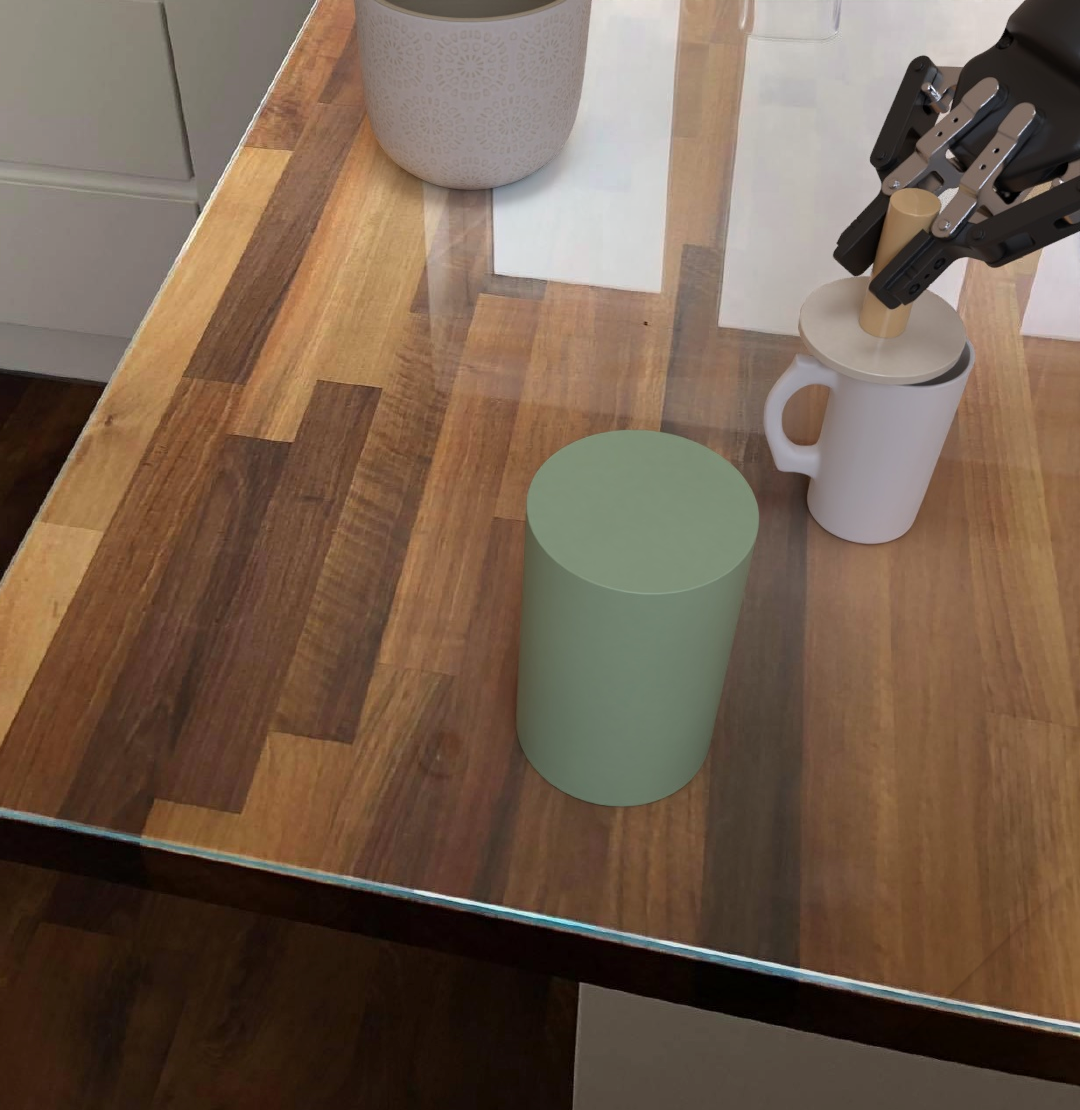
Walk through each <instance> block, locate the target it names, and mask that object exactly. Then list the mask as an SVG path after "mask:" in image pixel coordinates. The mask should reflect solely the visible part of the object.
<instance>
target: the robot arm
mask: <svg viewBox="0 0 1080 1110" xmlns="http://www.w3.org/2000/svg"><path fill="white" fill-rule="evenodd" d="M900 82H901V83H900V85H899V87H898V89H897V91H896V94H895V96H894V98H893V102H892V103H891V106H890V109H889V111H888V113H887V115H886V118H885V120H884V122H883V124H882V127H881V129H880V132H879V134H878V137H877V139H876V141H875V143H874V146H873V148H872V150H871V152H870V156H869V163H870V165H872V167H873V168H874V170H875V171H876V173H877V176H878V178H879V180H880V185H881V186H880V189H879V192H878V194H876V196H875V197H874V199H872V201H871V202H870V203H869V204H868V205H866V207H865V208H864V209H863V210H862V211H861V212H860V213H859V214H858V215H857V217H856V218H855V219H854V220H853V221H852V222H851V223H850V225H848V226H846V228H845V229H844V230H843V231H842V232H841V233H840V234H839V237H838V239H837V241H836V245H837V246H836V247H835V248H834V250H833V252H832V258H833V260H835V261H836V263H838V264H839V265H840V266H842V268H843V269H844V270H846V271H847V272H848V273H849V274H851V276H852V277H860V276H863V274H864V273H865V272H866V271H867V270H868V269H869V268H870V267H871V266H873V263H874V259H875V255H876V251H877V247H878V243H879V239H880V236H881V232H882V228H883V224H884V220H885V216H886V212H887V208H888V204H889V201H890V197H891V195H892V194H893V193H894V192H896V191H898V190H900V189H905V188H918V189H923V190H926V191H929V192H931V193H933V194H935V195H936V196H937V197H938V198H939V197H940V196H941V195H942V194H944V193H945V192H946V191H947V190H949V189H952V190H954V189H957V192H956V193H955V195H954V196H953V197H952V198H951V199H950V200H949V202H948V203H947V204H946V205H945V207H944V208H943V209H942V211H940V214H939V216H938V217H937V218H936V219H935V221H934V222H933V224H932V228H931V230H932V231H931V232H930V233H929V234H928V233H927V232H926V231H925V230H923V229H922V230H921V231H920V232H919V233H918V234H917V235H916V236H915V237H914V238H913V239H912V240H911V241H910V242H909V243H908V244H907V245H906V246H905V247H904V248H903V249H902V250H901V251H900V252H899V253H898V254H897V255H896V256H895V257H894V258H893V259H892V260H891V261H890V262H889V264H888V265H887V266H886V267H885V268H884V269H883V270H882V271H881V272H880V273H879V274H878V275H877V276H876V277H875V278H874V279H873V280H872V281H871V282H870V284H869V287H868V289H869V291H870V292H871V293H872V294H873V295H874V296H875V297H876V298H877V299H878V300H880V301H881V302H882V303H883V304H884V305H885V306H886V307H887V308H889V309H891V310H892V309H896V308H897V307H899V306H900V305H901V304H903V305H905V306H906V305H907V304H909V303H911V302H913V301H915V300H916V299H917V298H918V297H919V296H920V295H921V294H922V293H923V291H924V290H926V289H927V290H928V288H929V287H930V285H933V283H934V282H935V281H937V279H938V278H939V277H940V276H941V275H942V274H943V273H944V272H945V271H946V270H947V269H948V268H949V267H950V266H951V265H952V264H953V263H955V261H956V262H957V260H960V259H964V258H970V259H974V260H976V261H977V260H978V261H980V262H984V264H986V265H987V267H989V268H991V269H993V268H994V269H997V268H1001V267H1003V266H1005V265H1008V264H1010V263H1013V262H1014V261H1017V260H1019V259H1021V258H1024V257H1026V256H1028V255H1030V254H1032V253H1034V252H1037V251H1039V250H1042V249H1043V248H1047V247H1049V246H1050V245H1052V244H1055V243H1057V242H1060V241H1061V240H1064V239H1066V238H1068V237H1071V236H1072V235H1075V234H1077V233H1080V0H1024V1H1022V3H1020V4H1019V6H1018V7H1017V8H1016V9H1015V10H1014V11H1013V12H1012V13H1011V14H1010V15H1009V17H1008V18H1007V20H1006V25H1005V27H1004V30H1003V32H1002V34H1001V36H1000V38H999V39H998V40H997V42H996V43H995V44H993V45H992V46H991V47H989V48H988V49H986V50H984V51H983V52H981V53H979V54H977V55H975V56H973V57H971V58H970V59H969V60H968V61H967V62H966V63H965V64H964V66H949V65H947V66H946V65H945V66H943V65H936V64H935V62H933V60H932V59H931V58H930V57H929V56H927V55H926V54H925V55H923V54H922V55H918V56H917V57H915V58H913V59H912V60H911V61H910V62H909V64H908V66H907V69H906V71H905V73H904V75H903V78H902V80H901V81H900ZM950 104H951V105H950ZM947 113H948V114H947ZM940 114H942V115H943V114H946V115H945V116H944V117H943V118H941V120H939V121H938V119H939V117H940ZM937 121H938V122H937ZM948 151H949V152H950V153H951V154H952V155H953V157H950V158H948V157H947V152H948ZM1049 182H1050V183H1051V185H1050V186H1049V189H1047V190H1046V191H1043V192H1041V193H1039V194H1037V195H1035V196H1032V197H1031V198H1028V199H1027V200H1025V199H1026V198H1027V197H1028V195H1030V193H1031V192H1032V190H1033V189H1034V188H1035V187H1037V186H1040V185H1044V184H1047V183H1049Z"/></svg>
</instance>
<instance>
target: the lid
mask: <svg viewBox="0 0 1080 1110" xmlns="http://www.w3.org/2000/svg"><path fill="white" fill-rule="evenodd" d="M941 210H942V201H941V199H940V198H939V196H938V197H937V196H936V195H935V194H933V193H931V192H929V191H926V190H923V189H918V188H905V189H900V190H898V191H896V192H894V193H893V194H892V195H891V197H890V201H889V204H888V208H887V212H886V216H885V220H884V224H883V228H882V232H881V236H880V239H879V243H878V247H877V251H876V255H875V259H874V263H873V264H872V267H871V270H870V275H866V276H865V275H860V276H851V277H845V278H844V277H843V278H841V279H837V280H834V281H830V282H829V283H828V282H827V283H826V284H824V285H821V286H820V287H818V288H816V290H814V291H812V292H811V293H810V294H809V295H808V296H807V297H806V299H804V302H802V303H803V304H802V306H801V308H800V312H799V315H798V320H797V329H798V334H799V337H800V339H801V341H802V344H803V345H804V346H805V347H806V349H807V351H808V352H809V353H810V355H813V356H814V357H815V358H817V359H818V360H819V361H820V362H822V363H823V364H824V365H826V366H827V367H829V368H831V369H833V370H835V371H836V372H839V373H841V374H843V375H846V376H848V377H851V378H854V379H857V380H861V381H865V382H870V383H876V384H885V385H906V384H915V383H920V382H924V381H928V380H931V379H934V378H936V377H938V376H940V375H942V374H944V373H946V372H947V371H948V370H950V369H951V368H952V367H953V366H954V365H955V364H956V363H957V362H958V360H959V359H960V357H961V355H962V352H963V349H964V346H965V343H966V336H967V331H966V330H967V329H966V326H965V323H964V321H963V319H962V318H961V316H960V314H959V313H958V312H957V311H956V309H955V308H954V307H953V306H952V305H951V304H950V303H949V302H948V301H946V299H944V298H943V297H942V296H939V295H938V294H937V293H935V292H933V291H931V290H929V289H928V288H927V289H926V290H924V291H923V293H922V294H921V295H920V296H919V297H918V298H917V299H916V300H915V301H913V302H911V303H909V304H907V305H906V306H905V305H903V304H901V305H900V306H899V307H897V308H896V309H892V310H891V309H889V308H887V307H886V306H885V305H884V304H883V303H882V302H881V301H880V300H878V299H877V298H876V297H875V296H874V295H873V294H872V293H871V292H870V291H869V289H868V287H869V284H870V282H871V281H872V280H873V279H874V278H875V277H876V276H877V275H878V274H879V273H880V272H881V271H882V270H883V269H884V268H885V267H886V266H887V265H888V264H889V262H890V261H891V260H892V259H893V258H894V257H895V256H896V255H897V254H898V253H899V252H900V251H901V250H902V249H903V248H904V247H905V246H906V245H907V244H908V243H909V242H910V241H911V240H912V239H913V238H914V237H915V236H916V235H917V234H918V233H919V232H920V231H921V230H922V229H923V230H925V231H926V232H927V233H928V234H929V233H930V232H931V231H932V230H931V228H932V224H933V222H934V221H935V219H936V218H937V217H938V216H939V214H940V213H941Z"/></svg>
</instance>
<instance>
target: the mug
mask: <svg viewBox="0 0 1080 1110" xmlns="http://www.w3.org/2000/svg"><path fill="white" fill-rule="evenodd" d="M975 362H976V351H975V347H974V345H973V343H972V341H971V340H970V339H969V337H968V336H967V335H966V343H965V346H964V349H963V352H962V355H961V357H960V359H959V360H958V362H957V363H956V364H955V365H954V366H953V367H952V368H951V369H950V370H948V371H947V372H946V373H944V374H942V375H940V376H938V377H936V378H934V379H931V380H928V381H924V382H920V383H915V384H906V385H885V384H876V383H870V382H865V381H861V380H857V379H854V378H851V377H848V376H846V375H843V374H841V373H839V372H836V371H835V370H833V369H831V368H829V367H827V366H826V365H824V364H823V363H822V362H820V361H819V360H818V359H817V358H815V357H814V356H813V355H812V354H805V353H800V352H797V353H796V354H795V356H794V357H793V360H792V362H791V364H790V365H789V366H788V367H787V368H786V369H785V371H783V373H782V374H781V375H780V377H779V378H778V379H777V381H776V382H775V383H774V385H773V386H772V387H771V389H770V391H769V393H768V394H767V397H766V398H765V403H764V405H763V406H764V407H763V412H762V423H763V431H764V434H765V438H766V441H767V443H768V447H769V449H770V453H771V456H772V459H773V463H774V465H775V467H776V469H777V470H778V471H780V472H784V473H799V474H803V475H806V476H808V477H809V478H810V480H809V485H808V490H807V494H806V503H807V507H808V510H809V513H810V514H811V516H812V518H813V519H814V520H815V522H817V524H818V525H819V526H820V527H821V528H823V529H824V530H825V531H827V532H828V533H830V534H831V535H834V536H835V537H838V538H840V539H843V540H846V541H849V542H853V543H857V544H864V545H865V544H866V545H875V544H876V545H877V544H884V543H887V542H888V543H889V542H892V541H894V540H896V539H898V538H900V537H902V536H904V535H905V534H906V533H907V532H908V531H910V530H911V528H912V526H913V524H914V522H915V521H916V518H917V516H918V513H919V510H920V508H921V506H922V503H923V501H924V499H925V495H926V493H927V492H928V491H927V490H928V488H929V485H930V483H931V479H932V477H933V474H934V472H935V468H936V466H937V463H938V461H939V459H940V458H939V457H940V455H941V453H942V450H943V447H944V445H945V442H946V439H947V437H948V434H949V431H950V429H951V427H952V424H953V421H954V418H955V415H956V413H957V410H958V407H959V405H960V402H961V399H962V397H963V394H964V391H965V389H966V386H967V383H968V380H969V376H970V373H971V371H972V369H973V367H974V364H975ZM811 385H821V386H825V387H827V388H829V389H830V390H829V395H828V398H827V403H826V408H825V413H824V417H823V421H822V426H821V430H820V434H819V437H818V440H817V441H816V443H814V444H810V445H801V444H800V445H799V444H795V443H794V442H792V441H791V440H790V439H789V438H788V437H787V435H786V433H785V432H784V429H783V428H784V427H783V412H784V410H785V406H786V404H787V402H788V401H789V400H790V398H791V397H792V396H793V395H794V394H795V393H797V391H799V390H801V389H802V388H804V387H807V386H811Z"/></svg>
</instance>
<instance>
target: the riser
mask: <svg viewBox="0 0 1080 1110" xmlns="http://www.w3.org/2000/svg"><path fill="white" fill-rule="evenodd" d="M524 519H525V522H524V540H523V541H524V543H523V562H522V565H523V566H522V583H521V605H520V625H519V648H518V649H519V650H518V667H517V689H516V690H517V691H516V709H515V710H516V712H515V729H516V733H517V739H518V741H519V744H520V747H521V750H522V752H523V754H524V755H525V757H526V759H527V760H528V762H529V763H530V765H531V766H532V767H533V768H534V770H535V771H536V772H537V773H538V774H539V775H540V776H541V777H542V778H543V779H544V780H545V781H547V782H548V783H549V784H550V785H552V786H553V787H555V788H556V789H558V790H559V791H560V792H563V793H565V794H567V795H568V796H571V797H573V798H576V799H578V800H581V801H584V802H585V803H586V802H587V803H591V804H595V805H599V806H608V807H635V806H642V805H646V804H651V803H654V802H657V801H660V800H663V799H665V798H667V797H669V796H671V795H674V794H675V793H676V792H678V791H680V790H681V789H683V788H684V787H685V786H686V785H687V784H689V782H690V781H692V780H693V779H694V777H695V776H696V775H697V774H698V773H699V772H700V770H701V769H702V767H703V765H704V763H705V762H706V759H707V756H708V754H709V751H710V747H711V742H712V737H713V734H714V730H715V724H716V721H717V715H718V711H719V707H720V703H721V698H722V694H723V690H724V689H723V688H724V684H725V680H726V676H727V671H728V667H729V663H730V658H731V654H732V649H733V644H734V640H735V637H736V633H737V632H736V631H737V627H738V622H739V619H740V614H741V609H742V604H743V600H744V595H745V591H746V587H747V583H748V577H749V574H750V568H751V564H752V560H753V556H754V551H755V547H756V542H757V538H758V533H759V529H760V510H759V506H758V502H757V499H756V496H755V493H754V491H753V489H752V488H751V486H750V484H749V481H747V480H746V478H745V477H744V476H743V475H742V473H741V472H740V471H739V470H738V469H737V468H736V467H735V466H734V465H733V464H732V463H731V462H730V461H728V460H727V459H726V458H725V457H723V456H722V455H721V454H719V453H718V452H716V451H715V450H713V449H711V448H709V447H708V446H705V445H703V444H701V443H699V442H697V441H694V440H691V439H689V438H686V437H684V436H680V435H676V434H673V433H668V432H663V431H658V430H646V429H619V430H608V431H604V432H599V433H595V434H592V435H588V436H584V437H582V438H580V439H577V440H575V441H572V442H570V443H569V444H567V445H565V446H563V447H562V448H560V449H559V450H557V451H556V452H555V453H553V454H552V455H550V457H549V458H547V459H546V460H545V461H544V462H543V463H542V464H541V466H540V467H539V468H538V469H537V471H536V473H535V474H534V476H533V478H532V479H531V481H530V484H529V487H528V490H527V495H526V501H525V518H524Z"/></svg>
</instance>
